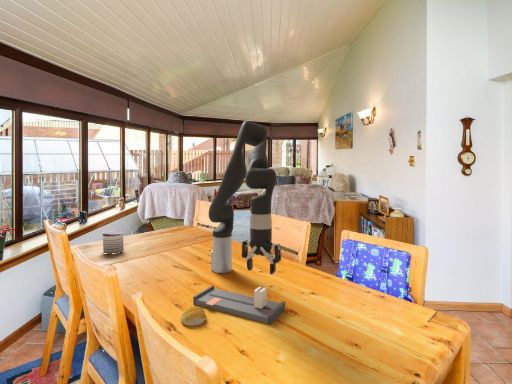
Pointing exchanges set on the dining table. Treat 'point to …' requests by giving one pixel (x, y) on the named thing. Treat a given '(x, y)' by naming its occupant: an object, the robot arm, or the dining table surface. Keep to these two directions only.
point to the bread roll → (193, 316)
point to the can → (113, 242)
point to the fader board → (238, 305)
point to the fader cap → (260, 297)
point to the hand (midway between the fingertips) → (260, 271)
